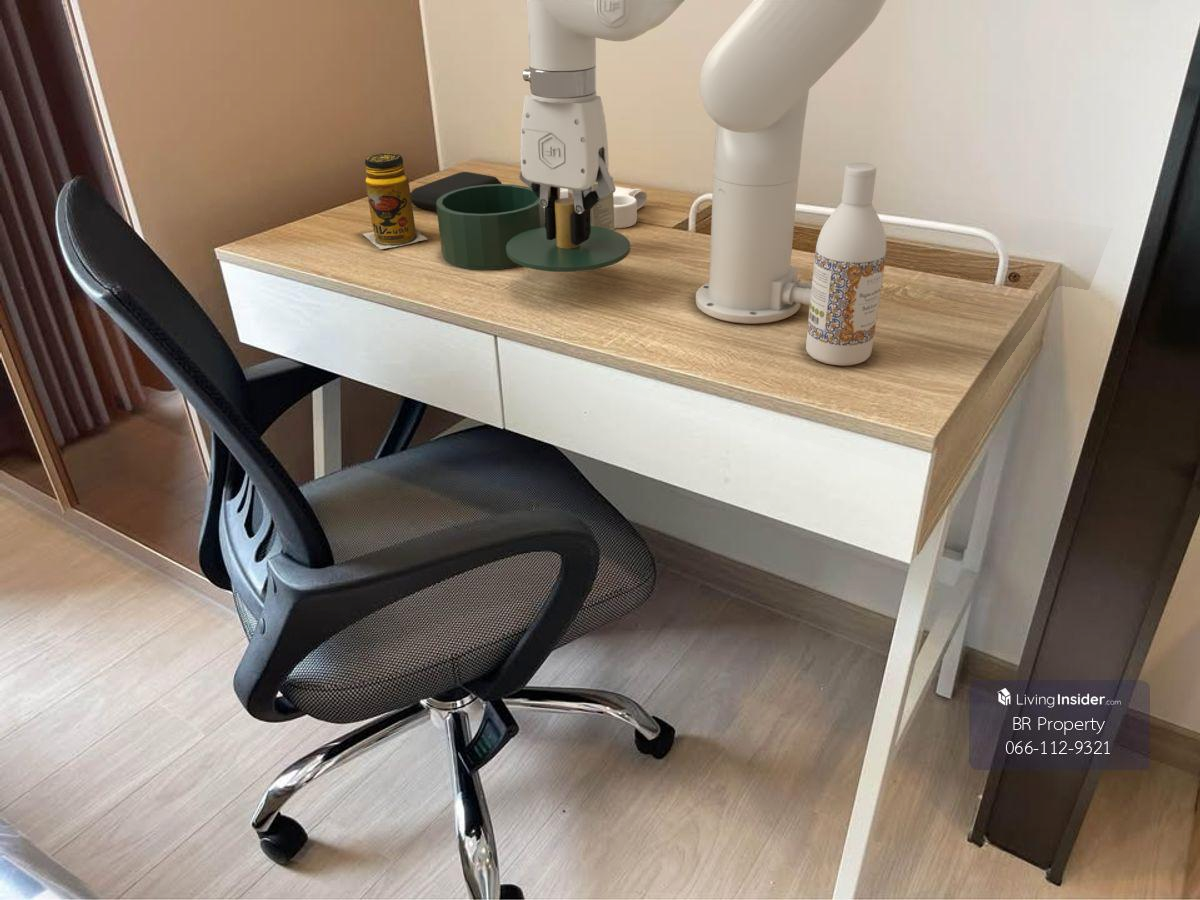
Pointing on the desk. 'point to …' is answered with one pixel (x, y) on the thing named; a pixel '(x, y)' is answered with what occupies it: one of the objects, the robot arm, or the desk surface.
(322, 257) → the desk surface
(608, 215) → the white cardboard carton
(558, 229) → the tin lid
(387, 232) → the condiment
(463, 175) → the carrying case
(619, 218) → the knuckle duster
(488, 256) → the tin
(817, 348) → the bath foam
